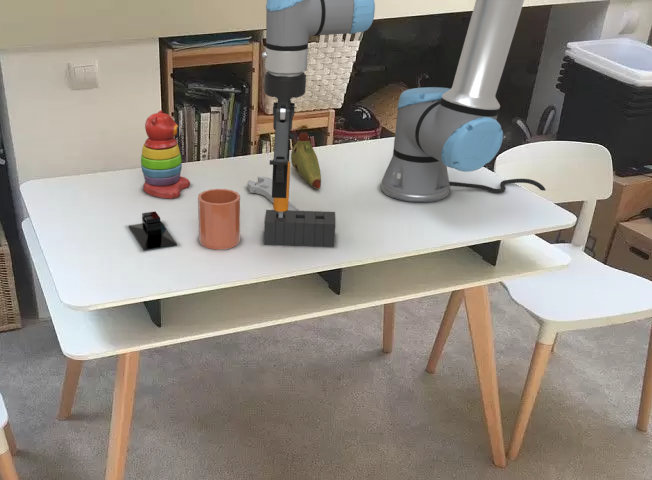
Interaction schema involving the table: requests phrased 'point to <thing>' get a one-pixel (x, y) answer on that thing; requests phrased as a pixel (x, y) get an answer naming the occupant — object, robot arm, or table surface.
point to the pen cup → (219, 218)
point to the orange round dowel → (282, 203)
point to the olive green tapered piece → (306, 161)
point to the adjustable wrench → (265, 190)
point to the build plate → (152, 233)
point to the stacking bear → (162, 158)
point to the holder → (300, 228)
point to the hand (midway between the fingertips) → (280, 184)
